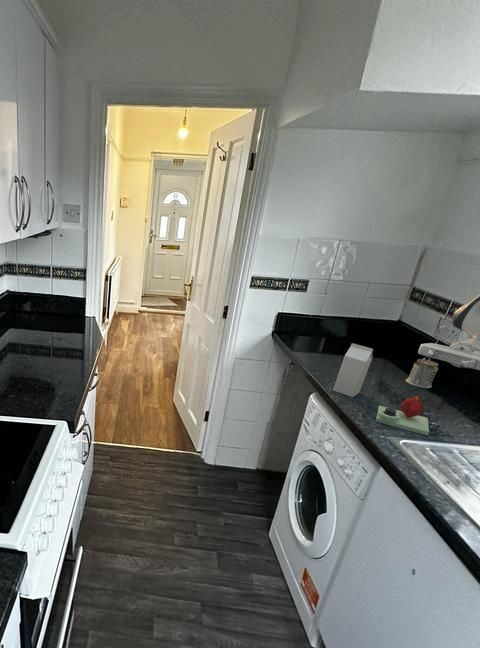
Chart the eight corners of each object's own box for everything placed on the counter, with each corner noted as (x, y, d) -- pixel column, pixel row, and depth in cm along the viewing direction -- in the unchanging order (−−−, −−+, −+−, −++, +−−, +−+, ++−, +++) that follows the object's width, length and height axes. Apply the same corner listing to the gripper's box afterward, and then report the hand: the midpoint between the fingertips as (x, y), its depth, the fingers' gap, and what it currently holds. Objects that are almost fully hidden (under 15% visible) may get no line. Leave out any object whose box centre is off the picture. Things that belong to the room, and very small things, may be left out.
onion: (397, 411, 141) (406, 390, 138) (418, 417, 138) (427, 395, 135) (397, 417, 137) (406, 396, 134) (417, 423, 134) (427, 402, 131)
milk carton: (351, 399, 153) (369, 351, 145) (332, 391, 158) (348, 345, 150) (358, 394, 157) (376, 347, 149) (339, 387, 162) (355, 341, 154)
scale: (426, 421, 139) (429, 413, 137) (427, 436, 129) (431, 427, 128) (377, 409, 146) (380, 401, 145) (375, 422, 136) (378, 414, 135)
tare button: (394, 414, 136) (396, 409, 136) (394, 417, 134) (396, 413, 133) (384, 411, 138) (385, 407, 137) (383, 414, 136) (385, 410, 135)
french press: (435, 385, 169) (463, 327, 159) (427, 392, 162) (454, 331, 152) (408, 377, 176) (432, 320, 165) (399, 383, 169) (423, 324, 158)
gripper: (431, 337, 150) (413, 341, 143) (504, 354, 134) (488, 360, 127) (425, 353, 152) (407, 358, 145) (496, 372, 136) (479, 379, 129)
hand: (445, 359), depth 136 cm, fingers open, 8 cm apart
